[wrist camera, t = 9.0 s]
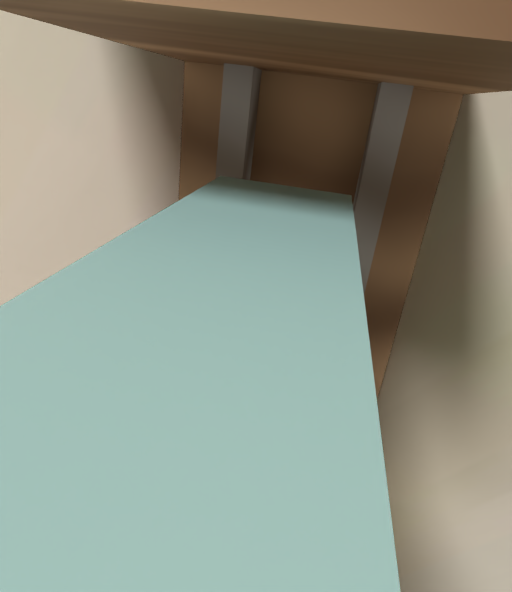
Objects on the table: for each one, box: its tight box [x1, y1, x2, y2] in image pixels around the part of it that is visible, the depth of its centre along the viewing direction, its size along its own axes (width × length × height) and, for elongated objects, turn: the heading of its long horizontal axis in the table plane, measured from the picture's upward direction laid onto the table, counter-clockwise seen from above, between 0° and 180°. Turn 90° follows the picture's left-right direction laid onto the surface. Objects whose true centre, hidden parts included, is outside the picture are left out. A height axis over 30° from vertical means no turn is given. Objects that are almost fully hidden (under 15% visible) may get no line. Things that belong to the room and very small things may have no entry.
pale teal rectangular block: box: [0, 176, 400, 592], centre depth 10 cm, size 14×4×11 cm, turn 173°
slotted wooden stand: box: [0, 0, 512, 398], centre depth 17 cm, size 24×12×16 cm, turn 173°
